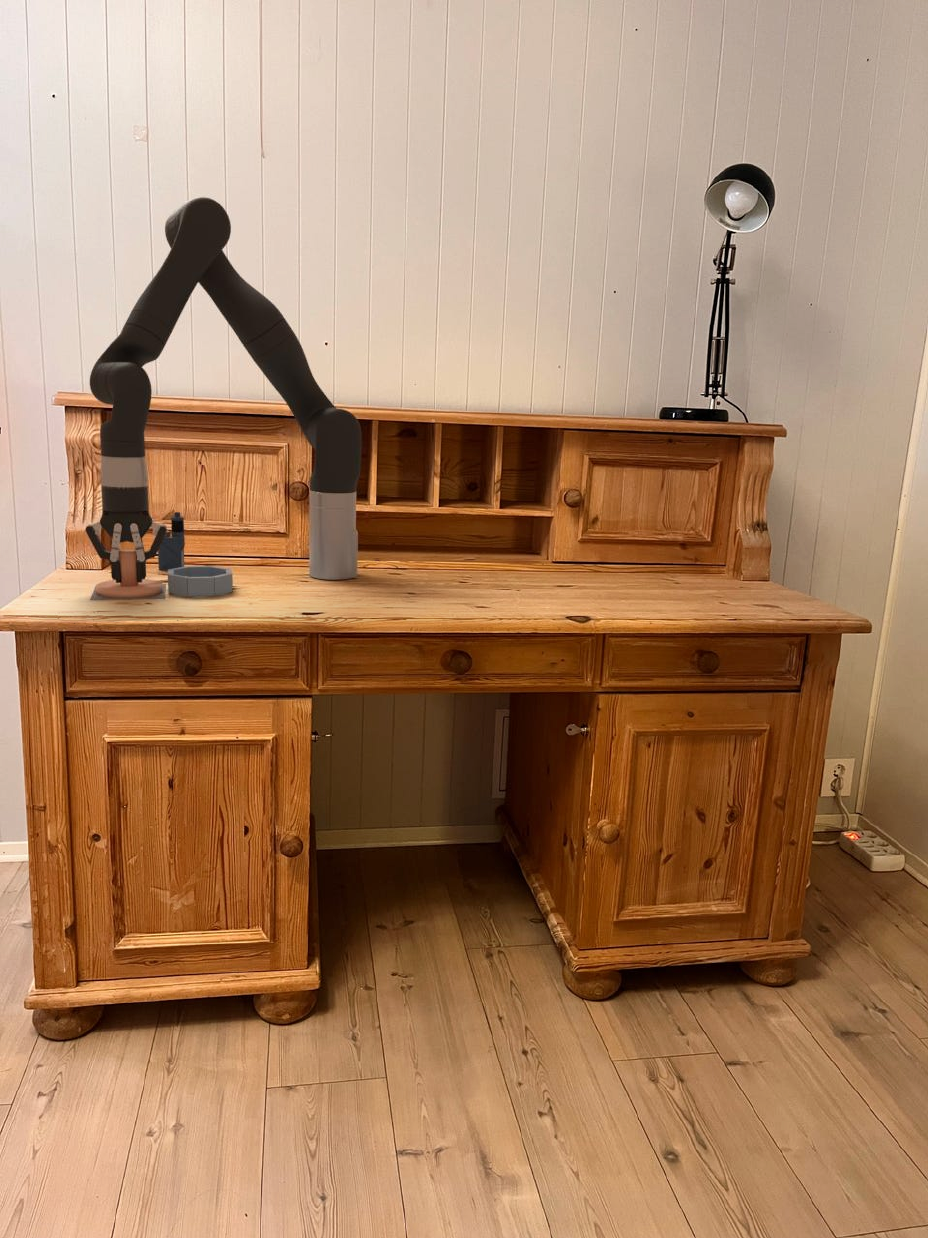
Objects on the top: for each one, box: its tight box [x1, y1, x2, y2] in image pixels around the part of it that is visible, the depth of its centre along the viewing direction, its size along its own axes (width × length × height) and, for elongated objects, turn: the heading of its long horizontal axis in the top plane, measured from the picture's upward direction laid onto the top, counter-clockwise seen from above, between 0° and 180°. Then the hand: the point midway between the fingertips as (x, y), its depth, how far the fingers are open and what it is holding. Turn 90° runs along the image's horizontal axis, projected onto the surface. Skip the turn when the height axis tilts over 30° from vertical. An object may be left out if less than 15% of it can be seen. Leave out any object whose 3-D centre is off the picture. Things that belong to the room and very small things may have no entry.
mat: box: [89, 583, 167, 601], centre depth 158 cm, size 12×12×1 cm
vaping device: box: [157, 511, 186, 572], centre depth 177 cm, size 3×5×12 cm, turn 89°
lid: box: [95, 549, 163, 599], centre depth 157 cm, size 11×11×7 cm
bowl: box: [167, 565, 234, 598], centre depth 161 cm, size 11×11×4 cm
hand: (129, 581), depth 157 cm, fingers closed on lid, 3 cm apart
